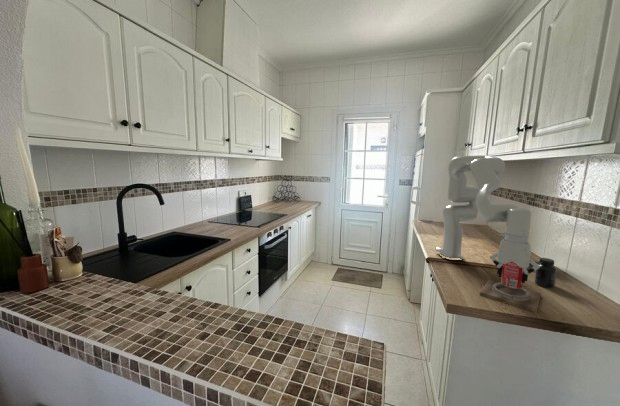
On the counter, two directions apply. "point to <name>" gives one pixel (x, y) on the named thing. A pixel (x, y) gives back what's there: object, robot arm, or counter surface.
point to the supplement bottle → (546, 273)
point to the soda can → (512, 275)
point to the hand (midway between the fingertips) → (511, 278)
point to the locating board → (511, 295)
